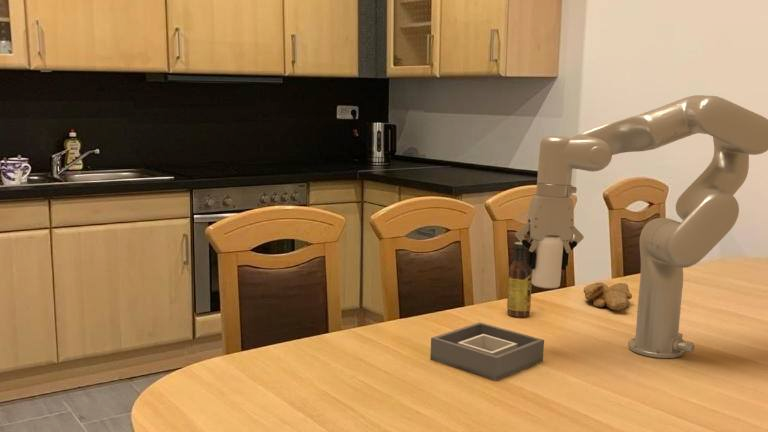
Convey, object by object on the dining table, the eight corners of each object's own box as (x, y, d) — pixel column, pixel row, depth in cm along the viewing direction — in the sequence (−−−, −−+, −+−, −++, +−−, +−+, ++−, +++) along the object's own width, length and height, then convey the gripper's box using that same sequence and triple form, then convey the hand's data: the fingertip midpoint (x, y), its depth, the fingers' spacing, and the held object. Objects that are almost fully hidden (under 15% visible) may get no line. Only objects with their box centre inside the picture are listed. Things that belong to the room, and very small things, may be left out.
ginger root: (590, 290, 238) (597, 266, 235) (639, 312, 229) (647, 288, 226) (566, 302, 226) (573, 276, 223) (616, 326, 217) (625, 300, 214)
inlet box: (542, 361, 178) (544, 339, 177) (495, 381, 165) (497, 358, 164) (478, 342, 190) (479, 322, 189) (430, 359, 177) (431, 337, 176)
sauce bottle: (531, 318, 211) (535, 246, 208) (508, 318, 211) (512, 245, 208) (527, 312, 217) (531, 241, 214) (505, 311, 217) (508, 240, 214)
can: (559, 290, 178) (564, 238, 176) (530, 287, 179) (535, 235, 177) (559, 283, 184) (564, 233, 182) (531, 281, 185) (535, 231, 184)
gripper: (584, 190, 183) (577, 265, 186) (511, 187, 181) (505, 263, 184) (596, 194, 175) (588, 273, 178) (520, 192, 174) (514, 271, 176)
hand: (546, 267), depth 181 cm, fingers closed on can, 6 cm apart
